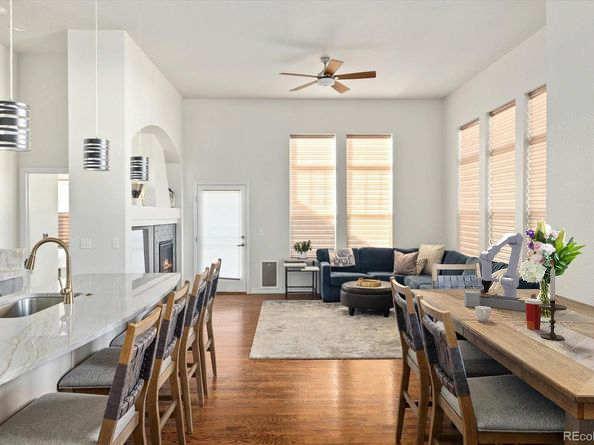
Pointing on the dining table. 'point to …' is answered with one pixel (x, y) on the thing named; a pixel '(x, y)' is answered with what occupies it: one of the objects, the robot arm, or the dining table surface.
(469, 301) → the medicine box
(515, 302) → the lid box
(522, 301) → the ash panel
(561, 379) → the dining table surface
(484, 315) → the cup
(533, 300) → the paper cup
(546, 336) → the candlestick
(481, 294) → the wooden sliding lid
